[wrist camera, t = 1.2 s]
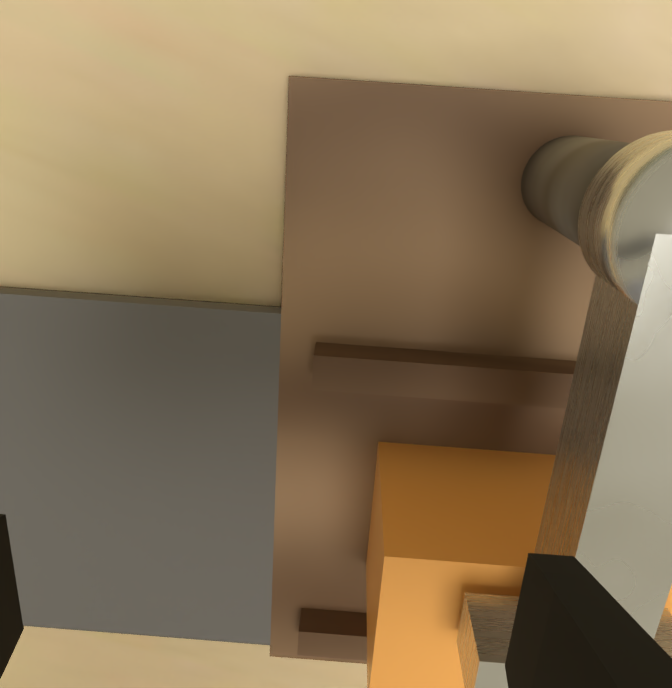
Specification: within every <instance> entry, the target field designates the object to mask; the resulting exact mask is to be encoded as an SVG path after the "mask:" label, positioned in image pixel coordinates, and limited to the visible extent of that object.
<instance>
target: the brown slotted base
mask: <svg viewBox="0 0 672 688" xmlns="http://www.w3.org/2000/svg"><path fill="white" fill-rule="evenodd" d="M669 130H672V102H668V101H653V100H639V99H624V98H609V97H594V96H579V95H564V94H550V93H535V92H520V91H505V90H490V89H475V88H461V87H446V86H431V85H416V84H401V83H386V82H372V81H357V80H342V79H327V78H312V77H297V76H289V93H288V124H287V154H286V184H285V214H284V244H283V274H282V304H281V334H280V365H279V395H278V425H277V455H276V485H275V515H274V545H273V575H272V605H271V636H270V656H275V657H288V658H300V659H313V660H325V661H338V662H351V663H363V664H367V599H366V560H367V550H368V541H369V531H370V521H371V511H372V501H373V491H374V481H375V471H376V461H377V451H378V442H389V443H403V444H416V445H429V446H443V447H456V448H470V449H483V450H496V451H510V452H523V453H536V454H550V455H556V452H557V447H558V443H559V438H560V434H561V429H562V425H563V420H564V416H565V411H566V406H567V402H568V397H569V393H570V388H571V384H572V379H573V375H574V370H575V366H576V361H577V356H578V352H579V347H580V343H581V338H582V334H583V329H584V325H585V320H586V316H587V311H588V306H589V302H590V297H591V293H592V288H593V284H594V279H595V274H594V272H593V271H592V270H591V269H590V267H589V266H588V264H587V262H586V261H585V258H584V256H583V254H582V251H581V247H580V244H579V237H578V218H579V211H580V207H581V204H582V200H583V198H584V195H585V193H586V190H587V188H588V187H589V185H590V183H591V181H592V179H593V178H594V177H595V175H596V174H597V172H598V171H599V170H600V168H601V167H602V166H603V165H604V164H605V163H606V162H607V161H608V160H609V159H610V158H611V157H612V156H613V155H614V154H615V153H617V152H618V151H619V150H621V149H622V148H624V147H625V146H627V145H628V144H630V143H632V142H634V141H636V140H637V139H640V138H642V137H645V136H647V135H650V134H654V133H658V132H662V131H669Z"/></svg>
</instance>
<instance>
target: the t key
mask: <svg viewBox="0 0 672 688" xmlns="http://www.w3.org/2000/svg"><path fill="white" fill-rule="evenodd" d="M578 237H579V244H580V247H581V251H582V254H583V256H584V258H585V261H586V262H587V264H588V266H589V267H590V269H591V270H592V271H593V272H594V274H595V279H594V284H593V288H592V293H591V297H590V302H589V306H588V311H587V316H586V320H585V325H584V329H583V334H582V338H581V343H580V347H579V352H578V356H577V361H576V366H575V370H574V375H573V379H572V384H571V388H570V393H569V397H568V402H567V406H566V411H565V416H564V420H563V425H562V429H561V434H560V438H559V443H558V447H557V452H556V456H555V461H554V466H553V470H552V475H551V479H550V484H549V488H548V493H547V497H546V502H545V507H544V511H543V516H542V520H541V525H540V529H539V534H538V538H537V543H536V547H535V552H534V553H538V554H551V555H565V556H574V557H575V558H576V559H577V560H578V561H579V562H580V563H581V564H582V565H583V566H584V567H585V568H586V569H587V570H588V571H589V572H590V573H591V574H592V575H593V576H594V578H595V579H596V580H597V581H598V582H599V583H600V584H601V585H602V586H603V587H604V588H605V589H606V590H607V591H608V592H609V593H610V594H611V595H612V596H613V597H614V599H615V600H616V601H617V602H618V603H619V604H620V605H621V606H622V607H623V608H624V609H625V610H626V611H627V612H628V613H629V614H630V615H631V616H632V617H633V618H634V620H635V621H636V622H637V623H638V624H639V625H640V626H641V627H642V628H643V629H644V630H645V631H646V632H647V633H648V634H649V635H650V636H651V637H652V638H653V639H654V640H655V641H656V642H657V643H658V644H659V645H660V647H661V648H662V649H663V650H664V651H665V652H666V653H667V654H668V655H669V656H670V657H671V658H672V615H671V613H670V612H669V610H668V608H664V607H665V604H666V601H667V598H668V595H669V591H670V588H671V585H672V130H669V131H662V132H658V133H654V134H650V135H647V136H645V137H642V138H640V139H637V140H636V141H634V142H632V143H630V144H628V145H627V146H625V147H624V148H622V149H621V150H619V151H618V152H617V153H615V154H614V155H613V156H612V157H611V158H610V159H609V160H608V161H607V162H606V163H605V164H604V165H603V166H602V167H601V168H600V170H599V171H598V172H597V174H596V175H595V177H594V178H593V179H592V181H591V183H590V185H589V187H588V188H587V190H586V193H585V195H584V198H583V200H582V204H581V207H580V211H579V218H578ZM518 600H519V597H517V596H504V595H491V594H478V593H466V592H465V595H464V600H463V606H462V612H461V618H460V623H459V629H458V635H457V640H456V642H457V648H458V653H459V659H460V664H461V670H462V676H463V681H464V687H465V688H508V683H507V676H506V670H505V662H506V657H507V652H508V648H509V643H510V638H511V633H512V629H513V624H514V619H515V614H516V610H517V605H518Z"/></svg>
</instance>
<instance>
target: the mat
mask: <svg viewBox="0 0 672 688" xmlns="http://www.w3.org/2000/svg"><path fill="white" fill-rule="evenodd" d="M280 334H281V307H274V306H260V305H246V304H232V303H218V302H204V301H191V300H177V299H163V298H149V297H135V296H121V295H107V294H94V293H80V292H66V291H52V290H38V289H24V288H10V287H0V514H6V520H7V527H8V533H9V539H10V545H11V552H12V558H13V564H14V571H15V577H16V583H17V590H18V596H19V602H20V609H21V615H22V621H23V626H34V627H47V628H60V629H72V630H85V631H97V632H110V633H123V634H135V635H148V636H161V637H173V638H186V639H199V640H211V641H224V642H236V643H249V644H262V645H270V636H271V605H272V575H273V545H274V515H275V485H276V455H277V425H278V395H279V365H280Z"/></svg>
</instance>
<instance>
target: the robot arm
mask: <svg viewBox="0 0 672 688" xmlns="http://www.w3.org/2000/svg"><path fill="white" fill-rule="evenodd" d="M23 629H24V628H23V621H22V615H21V609H20V602H19V596H18V590H17V583H16V577H15V571H14V564H13V558H12V552H11V545H10V539H9V533H8V527H7V520H6V514H0V678H1V676H2V674H3V672H4V670H5V668H6V666H7V664H8V662H9V659H10V657H11V655H12V653H13V651H14V649H15V646H16V644H17V642H18V640H19V638H20V636H21V633H22V631H23ZM505 670H506V676H507V683H508V688H672V658H671V657H670V656H669V655H668V654H667V653H666V652H665V651H664V650H663V649H662V648H661V647H660V645H659V644H658V643H657V642H656V641H655V640H654V639H653V638H652V637H651V636H650V635H649V634H648V633H647V632H646V631H645V630H644V629H643V628H642V627H641V626H640V625H639V624H638V623H637V622H636V621H635V620H634V618H633V617H632V616H631V615H630V614H629V613H628V612H627V611H626V610H625V609H624V608H623V607H622V606H621V605H620V604H619V603H618V602H617V601H616V600H615V599H614V597H613V596H612V595H611V594H610V593H609V592H608V591H607V590H606V589H605V588H604V587H603V586H602V585H601V584H600V583H599V582H598V581H597V580H596V579H595V578H594V576H593V575H592V574H591V573H590V572H589V571H588V570H587V569H586V568H585V567H584V566H583V565H582V564H581V563H580V562H579V561H578V560H577V559H576V558H575V557H574V556H565V555H551V554H538V553H528V557H527V562H526V567H525V572H524V576H523V581H522V586H521V591H520V595H519V600H518V605H517V610H516V614H515V619H514V624H513V629H512V633H511V638H510V643H509V648H508V652H507V657H506V662H505Z"/></svg>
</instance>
